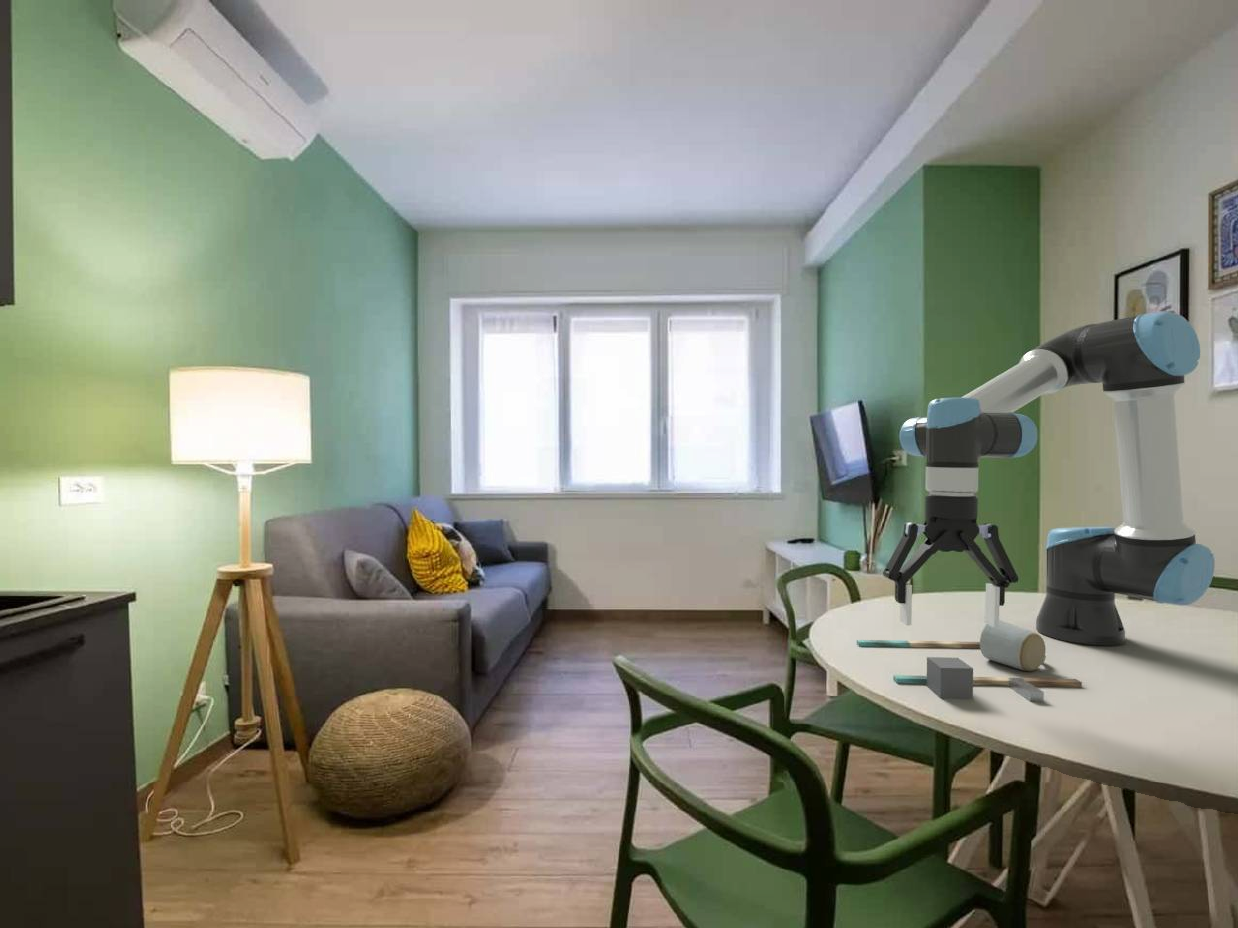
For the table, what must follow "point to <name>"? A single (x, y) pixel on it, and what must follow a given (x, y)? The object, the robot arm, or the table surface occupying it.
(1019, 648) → the ceramic mug
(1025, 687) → the bar
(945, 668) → the block
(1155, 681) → the table surface
